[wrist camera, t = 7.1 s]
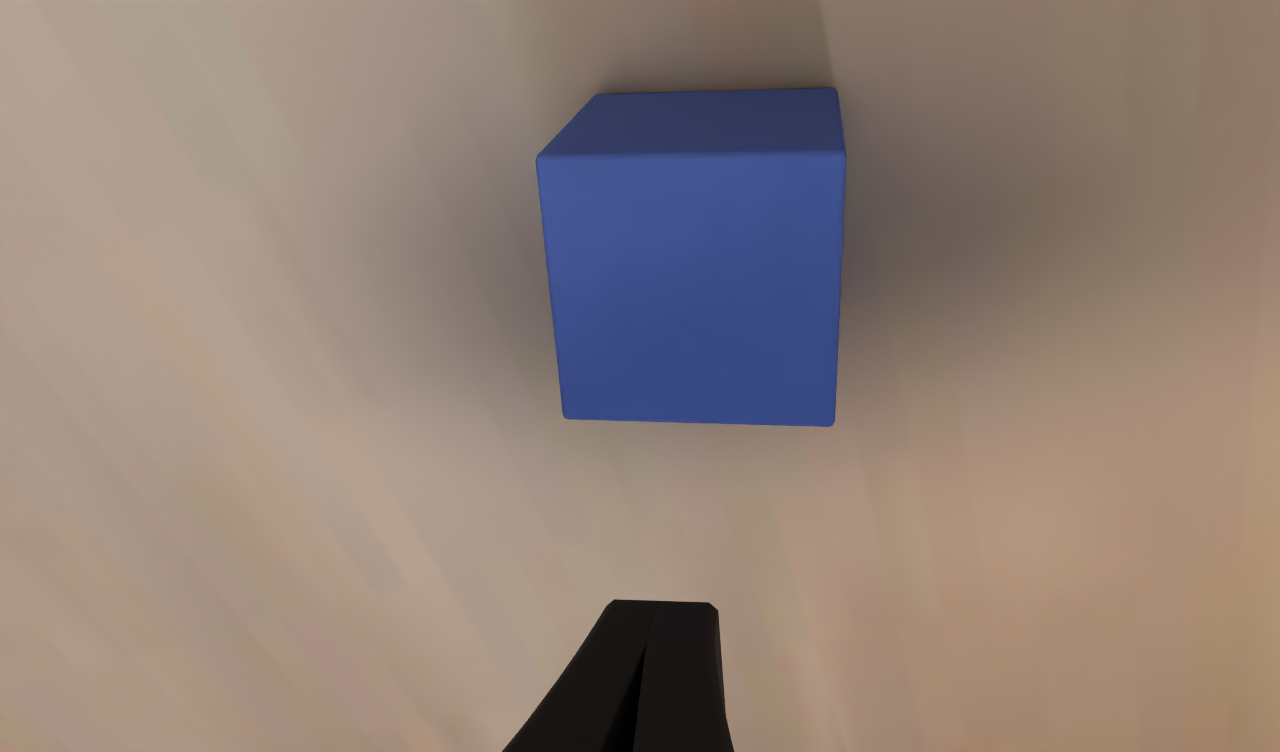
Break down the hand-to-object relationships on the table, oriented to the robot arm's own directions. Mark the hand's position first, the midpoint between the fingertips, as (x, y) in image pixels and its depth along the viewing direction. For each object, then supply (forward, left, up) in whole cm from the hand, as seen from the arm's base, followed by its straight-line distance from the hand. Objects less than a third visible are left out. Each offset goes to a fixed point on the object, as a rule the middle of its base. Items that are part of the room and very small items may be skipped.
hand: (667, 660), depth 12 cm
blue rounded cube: (-3, 0, -8) cm, 9 cm away
